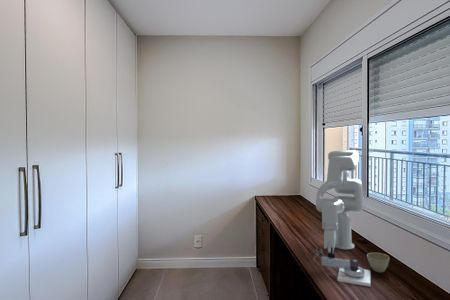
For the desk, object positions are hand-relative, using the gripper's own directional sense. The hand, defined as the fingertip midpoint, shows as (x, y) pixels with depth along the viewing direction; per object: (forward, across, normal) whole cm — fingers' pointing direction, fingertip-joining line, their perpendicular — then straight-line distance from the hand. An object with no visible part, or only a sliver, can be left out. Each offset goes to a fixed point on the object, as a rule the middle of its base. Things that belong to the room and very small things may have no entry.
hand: (331, 260), depth 148 cm
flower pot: (+5, -7, +22) cm, 23 cm away
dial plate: (+5, +5, +11) cm, 13 cm away
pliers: (+5, -15, -9) cm, 18 cm away
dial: (+3, +5, +6) cm, 8 cm away
